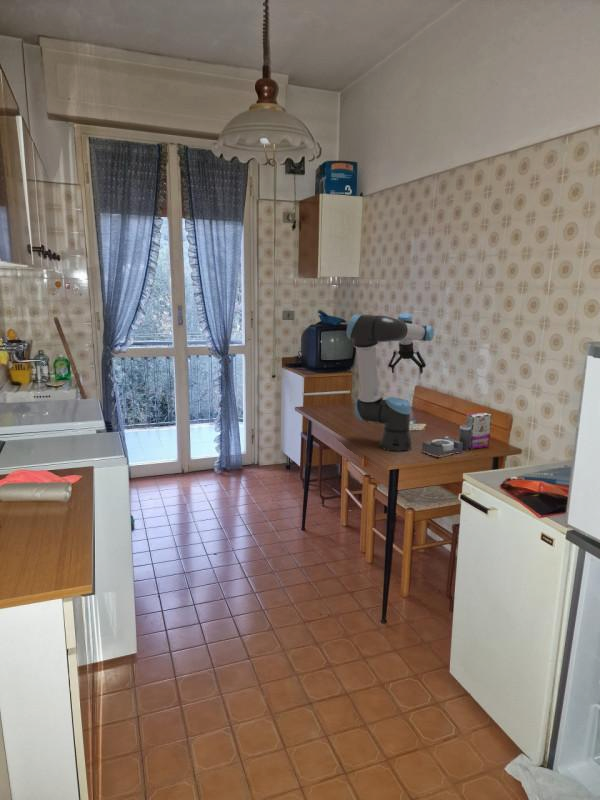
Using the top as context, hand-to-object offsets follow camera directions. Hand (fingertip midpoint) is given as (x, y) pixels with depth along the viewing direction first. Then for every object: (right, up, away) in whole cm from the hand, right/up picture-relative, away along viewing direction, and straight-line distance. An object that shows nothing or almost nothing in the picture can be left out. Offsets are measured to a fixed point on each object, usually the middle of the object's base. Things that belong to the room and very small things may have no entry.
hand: (407, 378), depth 298 cm
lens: (+19, -35, -40) cm, 57 cm away
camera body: (+7, -37, -46) cm, 59 cm away
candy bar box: (+26, -35, -37) cm, 57 cm away
